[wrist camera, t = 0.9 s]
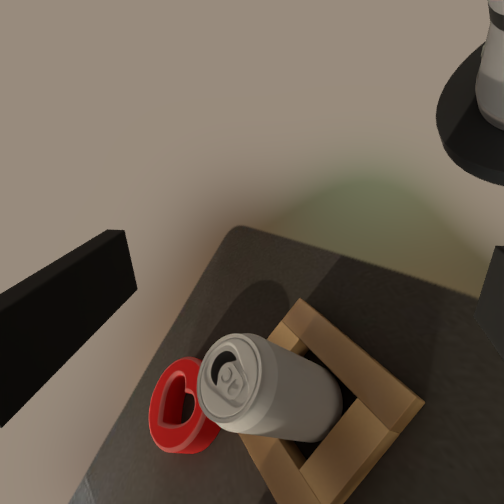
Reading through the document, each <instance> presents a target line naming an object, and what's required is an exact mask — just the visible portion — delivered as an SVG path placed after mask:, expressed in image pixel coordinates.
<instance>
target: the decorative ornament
mask: <svg viewBox="0 0 504 504" xmlns="http://www.w3.org/2000/svg"><path fill="white" fill-rule="evenodd" d="M202 361H203V360H200V359H197V358H194V357H183V358H181V359H178V360H176V361H175V362H173V363H172V364H171V365H170V366H169V367H168V368H167V369H166V370H165V371H164V372H163V374H162V375H161V377H160V379H159V381H158V382H157V385H156V387H155V389H154V392H153V395H152V398H151V402H150V408H149V428H150V433H151V436H152V438H153V440H154V442H155V443H156V445H157V446H158V447H159V448H160V449H162V450H163V451H165V452H170V453H185V454H194V453H198V452H201V451H203V450H204V449H206V448H207V447H208V446H209V445H210V444H211V443H212V441H213V440H214V439H215V437H216V436H217V434H218V433H219V431H220V429H221V427H220V426H219V425H217V424H216V422H214V421H212V420H210V419H209V418H208V417H207V416H206V415H205V414H204V412H203V411H202V409H201V407H200V404H199V401H198V397H197V378H198V373H199V369H200V366H201V363H202ZM186 393H189V394H193V396H194V399H195V407H194V411H193V414H192V416H191V417H190V419H189V420H188V421H186V422H185V423H183V424H181V418H182V409H183V403H184V398H185V395H186Z"/></svg>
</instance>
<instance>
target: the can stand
mask: <svg viewBox="0 0 504 504" xmlns="http://www.w3.org/2000/svg"><path fill="white" fill-rule="evenodd" d="M266 340H268V341H270V342H272V343H274V344H277V345H279V346H281V347H283V348H285V349H287V350H289V351H291V352H293V353H295V354H297V355H299V356H301V357H304V356H305V354H306V353H307V352H308V351H309V349H310V350H311V351H312V352H313V353H314V354H315V355H316V356H317V357H318V358H319V359H320V360H321V361H322V362H323V363H324V364H325V365H326V366H327V367H328V368H329V369H330V370H331V371H332V372H333V373H334V374H335V375H336V376H337V377H338V378H339V379H340V380H341V381H342V382H343V383H344V384H345V385H346V386H347V387H348V388H349V389H350V390H351V391H352V392H353V393H354V394H355V395H356V396H357V397H358V398H357V399H356V400H355V401H354V403H353V404H352V405H351V406H350V408H349V409H348V410H347V411H346V413H345V414H344V415H343V416H342V418H341V419H340V420H339V421H338V422H337V424H336V425H335V426H334V427H333V429H332V430H331V431H330V432H329V434H328V435H327V436H326V437H325V439H324V440H323V441H322V442H321V444H320V445H319V446H318V447H317V449H316V450H315V451H314V452H313V454H312V455H311V456H310V457H309V458H308V460H306V458H305V457H304V456H303V454H302V453H301V451H300V450H299V448H298V447H297V445H296V444H295V443H294V441H293V440H287V439H279V438H272V437H265V436H257V435H250V434H243V433H238V434H239V435H240V437H241V439H242V441H243V443H244V444H245V446H246V448H247V450H248V452H249V453H250V455H251V457H252V459H253V461H254V462H255V464H256V466H257V468H258V470H259V472H260V473H261V475H262V477H263V479H264V481H265V482H266V484H267V486H268V488H269V490H270V491H271V493H272V495H273V497H274V499H275V500H276V502H277V504H344V502H345V501H346V500H347V499H348V498H349V496H350V495H351V494H352V493H353V491H354V490H355V489H356V488H357V486H358V485H359V484H360V483H361V482H362V480H363V479H364V478H365V477H366V475H367V474H368V473H369V472H370V470H371V469H372V468H373V467H374V466H375V464H376V463H377V462H378V461H379V459H380V458H381V457H382V456H383V454H384V453H385V452H386V451H387V450H388V448H389V447H390V446H391V445H392V443H393V442H394V441H395V440H396V438H397V437H398V436H399V435H400V433H401V432H402V431H403V430H404V428H405V427H406V426H407V425H408V423H409V422H410V421H411V420H412V419H413V417H414V416H415V415H416V414H417V412H418V411H419V410H420V409H421V407H422V406H423V405H424V404H425V401H424V400H423V399H421V398H420V397H419V396H418V395H417V394H415V393H414V392H413V391H412V390H411V389H410V388H408V387H407V386H406V385H405V384H404V383H402V382H401V381H400V380H399V379H398V378H397V377H395V376H394V375H393V374H392V373H391V372H389V371H388V370H387V369H386V368H385V367H384V366H382V365H381V364H380V363H379V362H378V361H376V360H375V359H374V358H373V357H372V356H370V355H369V354H368V353H367V352H366V351H365V350H363V349H362V348H361V347H360V346H359V345H357V344H356V343H355V342H354V341H353V340H352V339H350V338H349V337H348V336H347V335H346V334H344V333H343V332H342V331H341V330H340V329H339V328H337V327H336V326H335V325H334V324H333V323H331V322H330V321H329V320H328V319H327V318H325V317H324V316H323V315H322V314H321V313H320V312H318V311H317V310H316V309H315V308H314V307H312V306H311V305H310V304H308V303H307V302H306V301H304V300H303V299H301V298H299V299H298V301H297V302H296V303H295V304H294V306H293V307H292V308H291V309H290V311H289V312H288V313H287V314H286V316H285V317H284V318H283V319H282V321H281V322H280V323H279V324H278V326H277V327H276V328H275V329H274V331H273V332H272V333H271V334H270V336H269V337H268V338H267V339H266Z"/></svg>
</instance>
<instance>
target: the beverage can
mask: <svg viewBox="0 0 504 504" xmlns="http://www.w3.org/2000/svg"><path fill="white" fill-rule="evenodd" d="M197 397H198V401H199V404H200V407H201V409H202V411H203V412H204V414H205V415H206V416H207V417H208V418H209V419H210V420H212V421H214V422H216V424H217V425H219V426H220V427H221V428H223V429H224V430H227V431H230V432H236V433H243V434H250V435H257V436H265V437H272V438H279V439H287V440H294V441H301V442H309V443H312V442H318V441H321V440H324V439H325V437H326V436H327V435H328V434H329V432H330V431H331V430H332V429H333V427H334V426H335V425H336V424H337V422H338V421H339V420H340V419H341V415H342V410H343V398H342V393H341V389H340V386H339V384H338V382H337V380H336V379H335V377H334V376H333V375H332V374H331V373H330V372H329V371H328V370H327V369H325V368H324V367H322V366H320V365H318V364H316V363H314V362H312V361H310V360H308V359H305V358H303V357H301V356H299V355H297V354H295V353H293V352H291V351H289V350H287V349H285V348H283V347H281V346H279V345H277V344H274V343H272V342H270V341H268V340H266V339H264V338H262V337H260V336H258V335H255V334H250V333H245V334H236V333H234V334H229V335H226V336H224V337H222V338H220V339H219V340H218V341H217V342H215V343H214V344H213V345H212V347H211V348H210V349H209V350H208V352H207V353H206V355H205V357H204V359H203V361H202V363H201V366H200V369H199V373H198V378H197Z"/></svg>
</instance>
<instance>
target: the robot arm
mask: <svg viewBox="0 0 504 504" xmlns="http://www.w3.org/2000/svg"><path fill="white" fill-rule="evenodd" d="M488 6H489V14H490V27H489V31H488V35H487V39H486V43H485V45H484V46H483V48H482V53H481V56H482V55H483V56H482V61H481V66H480V68H479V71H478V74H477V78H476V86H475V91H476V97H477V102H478V107H479V110H480V113H481V114H482V116H483V117H484V119H485V120H486V121H487V122H488V123H490V124H491V125H492V126H494V127H496V128H497V129H500V130H502V131H504V0H488ZM136 290H137V284H136V280H135V276H134V271H133V266H132V262H131V257H130V253H129V248H128V244H127V239H126V235H125V231H124V230H106V231H104V232H102V233H101V234H99V235H98V236H96V237H94V238H92V239H91V240H89V241H88V242H86V243H84V244H83V245H81V246H79V247H78V248H76V249H74V250H73V251H71V252H69V253H68V254H66V255H64V256H63V257H61V258H59V259H58V260H56V261H54V262H53V263H51V264H49V265H48V266H46V267H44V268H43V269H41V270H40V271H38V272H36V273H34V274H33V275H31V276H29V277H28V278H26V279H24V280H23V281H21V282H19V283H18V284H16V285H15V286H13V287H11V288H9V289H8V290H6V291H5V292H3V293H1V294H0V428H2V427H3V426H4V425H5V424H6V423H7V422H8V421H9V420H10V419H11V418H12V417H13V416H14V415H15V414H16V413H17V412H18V411H19V410H20V409H21V408H22V407H23V406H24V405H25V404H26V403H27V402H28V400H30V399H31V397H33V396H34V395H35V393H36V392H37V391H38V390H39V389H40V388H41V387H42V386H43V385H44V384H45V383H46V382H47V381H48V380H49V379H50V378H51V377H52V376H53V375H54V374H55V373H56V372H57V371H58V370H59V369H60V368H61V367H62V366H63V365H64V364H65V363H66V362H67V361H68V360H69V359H70V358H71V357H72V356H73V355H74V354H75V353H76V352H77V351H78V350H79V348H80V347H82V345H83V344H84V343H85V342H86V341H87V340H88V339H89V338H90V337H91V336H92V335H93V334H94V333H95V332H96V331H97V330H98V329H99V328H100V327H101V326H102V325H103V324H104V323H105V322H106V321H107V320H108V319H109V318H110V317H111V316H112V315H113V314H114V313H115V312H116V311H117V310H118V309H119V308H120V307H121V306H122V304H124V303H125V302H126V301H127V300H128V299H129V297H131V296H132V294H133V293H134V292H135V291H136ZM473 317H474V318H475V320H476V321H477V323H478V324H479V325H480V327H481V328H482V330H483V331H484V333H485V334H486V336H487V337H488V339H489V340H490V341H491V343H492V344H493V346H494V347H495V349H496V350H497V352H498V353H499V355H500V356H501V357H502V359H503V360H504V246H495V249H494V252H493V256H492V259H491V262H490V265H489V269H488V272H487V275H486V278H485V281H484V285H483V288H482V291H481V294H480V297H479V300H478V303H477V307H476V310H475V313H474V316H473Z"/></svg>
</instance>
